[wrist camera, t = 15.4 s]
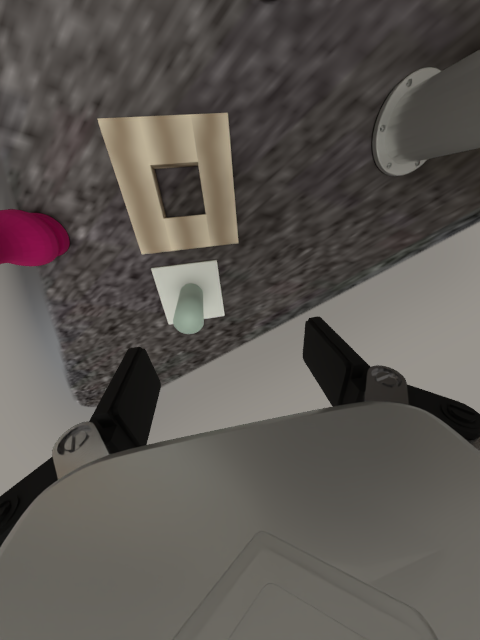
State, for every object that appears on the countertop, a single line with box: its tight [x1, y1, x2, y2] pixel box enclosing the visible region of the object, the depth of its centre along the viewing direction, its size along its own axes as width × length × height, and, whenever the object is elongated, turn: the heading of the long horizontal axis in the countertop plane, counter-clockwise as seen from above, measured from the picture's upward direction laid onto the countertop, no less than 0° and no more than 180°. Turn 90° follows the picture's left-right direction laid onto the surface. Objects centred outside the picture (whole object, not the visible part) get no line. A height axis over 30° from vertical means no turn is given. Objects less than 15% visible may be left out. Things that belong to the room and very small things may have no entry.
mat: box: [151, 260, 225, 324], centre depth 39 cm, size 12×12×1 cm
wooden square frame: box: [97, 113, 238, 254], centre depth 30 cm, size 16×16×3 cm
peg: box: [173, 283, 204, 334], centre depth 34 cm, size 4×4×11 cm
